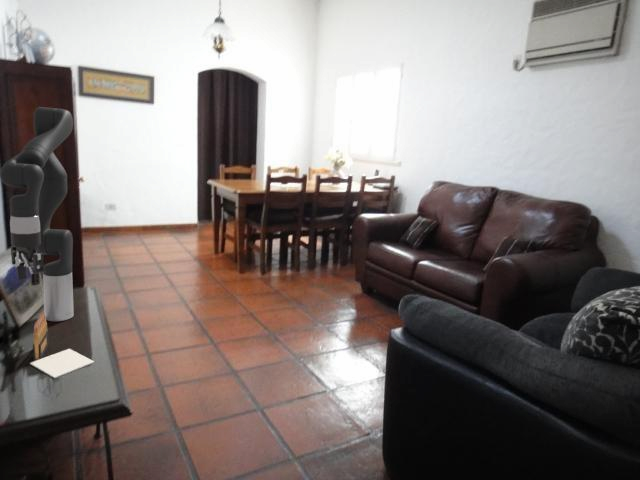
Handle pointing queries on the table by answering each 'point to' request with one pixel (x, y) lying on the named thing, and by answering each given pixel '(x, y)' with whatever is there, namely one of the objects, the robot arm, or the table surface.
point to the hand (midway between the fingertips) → (28, 281)
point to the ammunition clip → (40, 337)
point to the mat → (62, 363)
